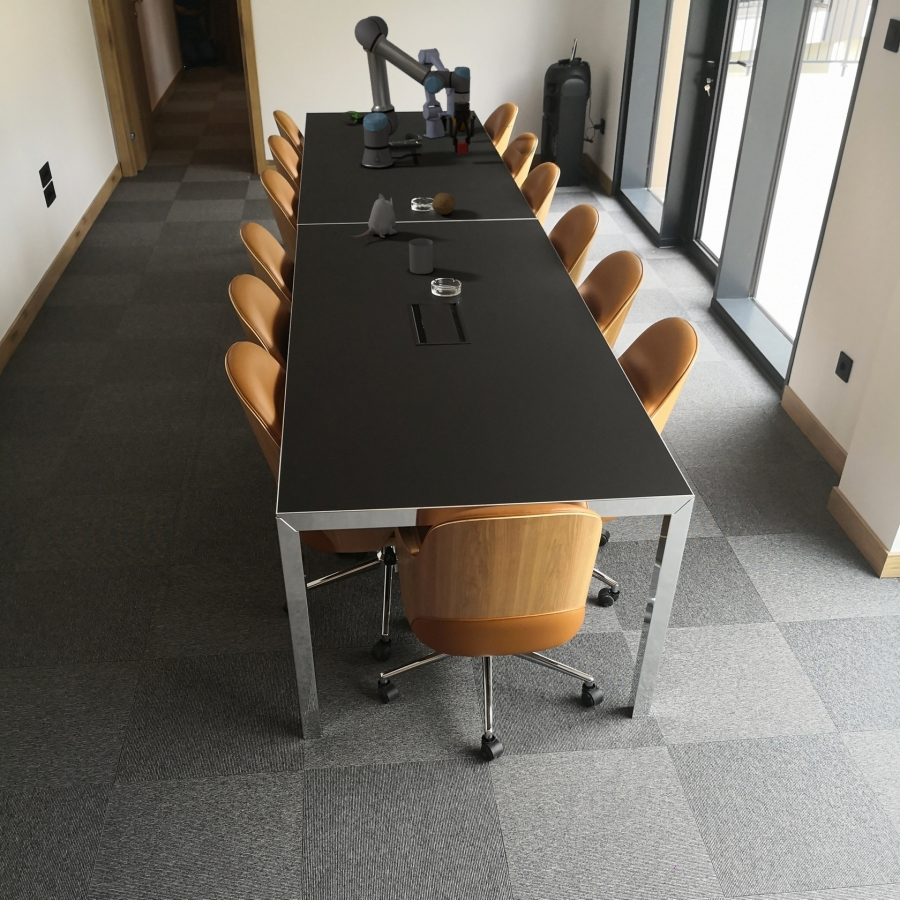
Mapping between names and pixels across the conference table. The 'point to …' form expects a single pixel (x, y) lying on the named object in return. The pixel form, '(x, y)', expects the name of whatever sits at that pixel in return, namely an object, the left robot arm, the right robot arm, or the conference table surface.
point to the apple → (462, 123)
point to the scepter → (355, 117)
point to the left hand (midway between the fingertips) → (461, 151)
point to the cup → (421, 256)
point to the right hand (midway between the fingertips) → (452, 130)
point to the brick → (462, 147)
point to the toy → (381, 218)
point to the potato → (443, 203)
